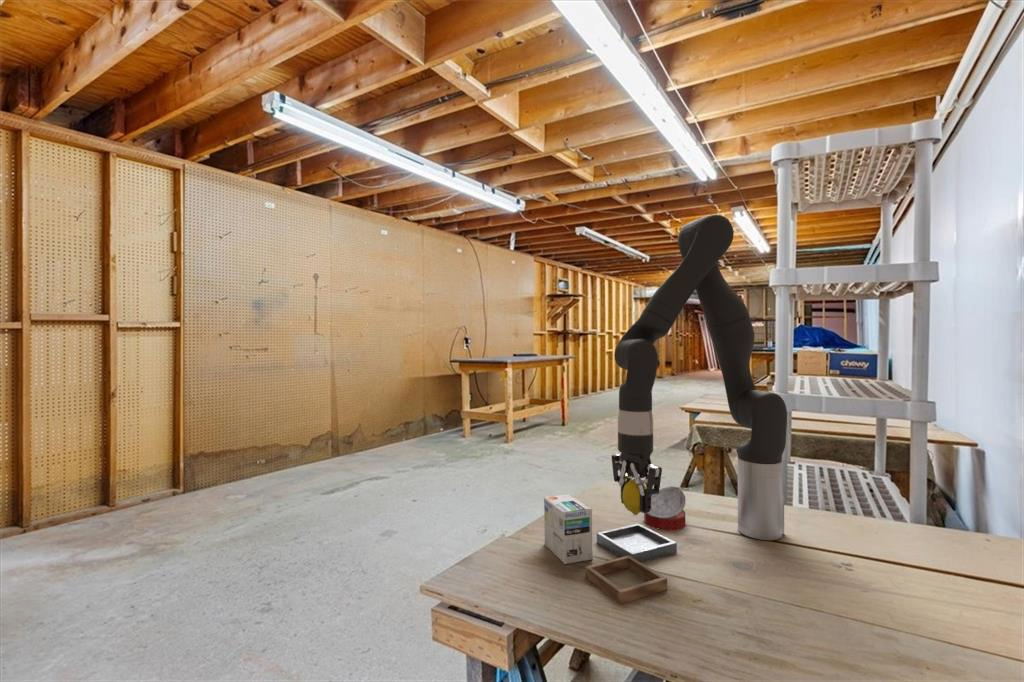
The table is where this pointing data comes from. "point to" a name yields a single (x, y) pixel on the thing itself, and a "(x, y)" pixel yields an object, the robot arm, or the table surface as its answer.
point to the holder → (631, 593)
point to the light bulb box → (568, 528)
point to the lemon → (632, 497)
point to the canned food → (667, 509)
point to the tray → (636, 543)
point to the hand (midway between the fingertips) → (635, 507)
